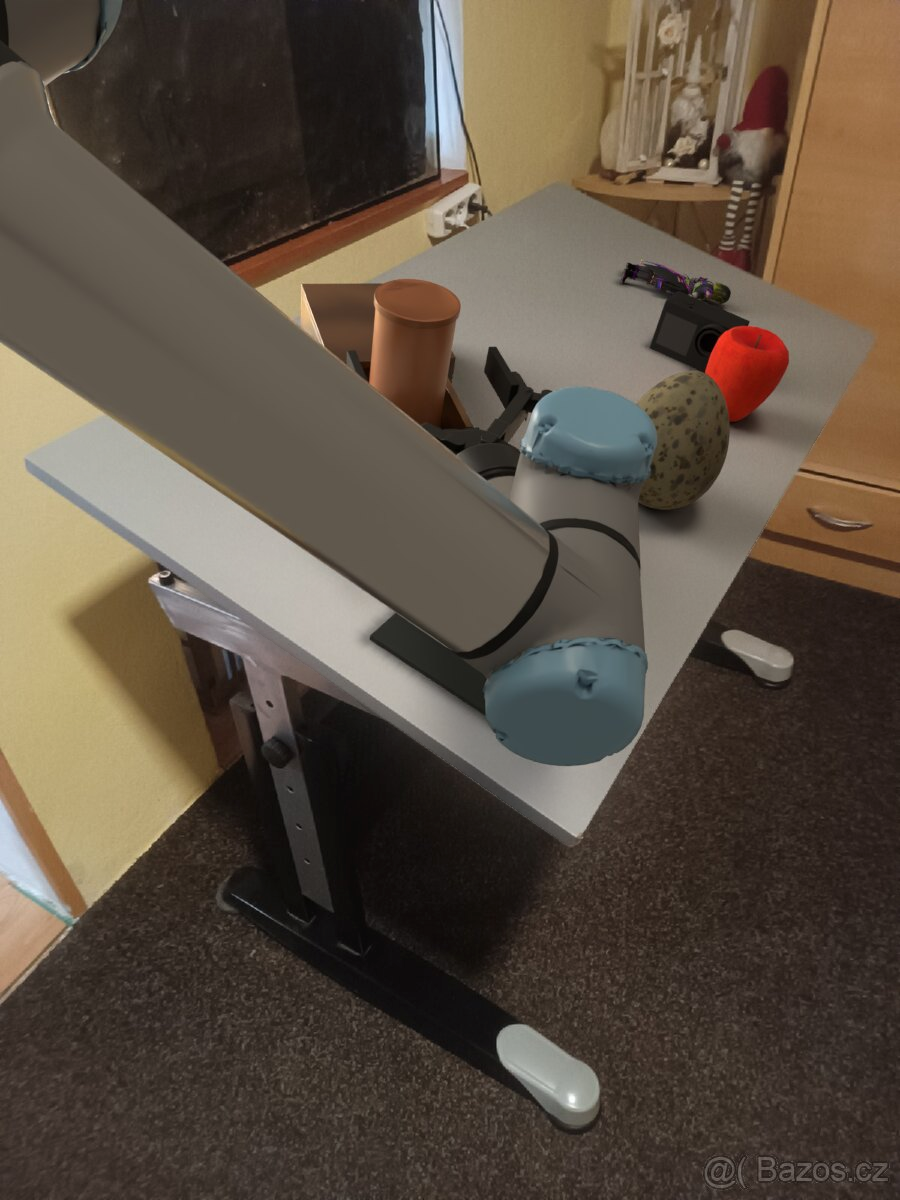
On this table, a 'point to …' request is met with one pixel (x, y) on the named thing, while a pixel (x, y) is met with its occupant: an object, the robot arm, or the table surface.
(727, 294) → the character figure
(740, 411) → the apple
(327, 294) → the cabinet
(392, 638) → the mat
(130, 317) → the robot arm
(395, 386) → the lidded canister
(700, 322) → the digital camera
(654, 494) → the decorative egg
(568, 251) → the table surface
